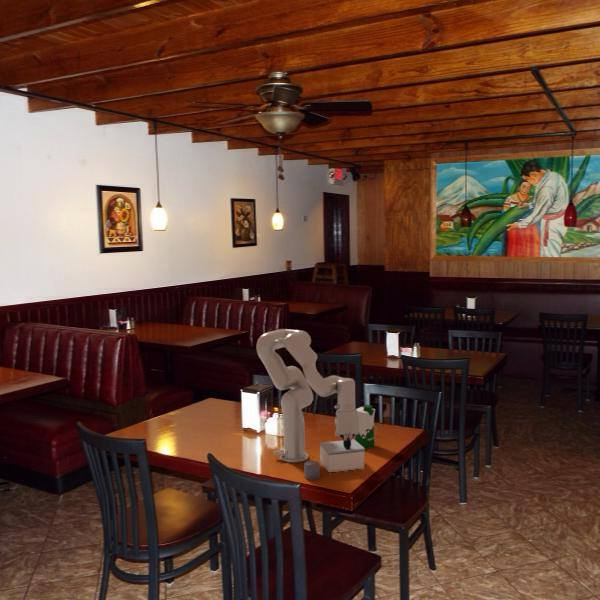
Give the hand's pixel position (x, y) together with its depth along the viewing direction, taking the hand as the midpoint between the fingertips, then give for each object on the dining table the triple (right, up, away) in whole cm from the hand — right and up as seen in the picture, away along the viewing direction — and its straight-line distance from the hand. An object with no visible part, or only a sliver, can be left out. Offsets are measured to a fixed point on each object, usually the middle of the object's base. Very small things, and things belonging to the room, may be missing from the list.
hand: (347, 448), depth 266 cm
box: (-2, -9, +5) cm, 11 cm away
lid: (-2, -1, +4) cm, 5 cm away
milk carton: (+11, -6, +30) cm, 32 cm away
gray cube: (-15, -11, -7) cm, 20 cm away
